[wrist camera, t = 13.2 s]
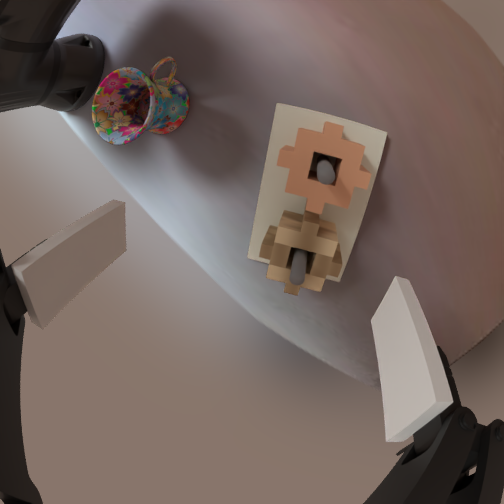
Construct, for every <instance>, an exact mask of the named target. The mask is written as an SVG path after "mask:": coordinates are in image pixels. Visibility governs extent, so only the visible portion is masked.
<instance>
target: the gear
mask: <svg viewBox="0 0 504 504" xmlns="http://www.w3.org/2000/svg"><path fill="white" fill-rule="evenodd" d="M305 209H306V206H305ZM293 247H295V248H299V249H303V250H307V261H306V272H305V281H304V283H303V284H301V285H294V284H292V283H291V282H290V280H289V278H290V272H291V267H292V262H293V257H294V251H295V248H293ZM308 251H310V252H308ZM259 257H261V258H265V259H268V260H270V263H269V267H268V271H267V275H266V278H268V279H272V280H276V281H280V282H284V283H286V284H285V288H284V292H285V293H289V294H293V295H297V296H298V293H299V290H300V287H303V288H307V289H311V290H315V291H318V292H321V289H322V287H323V284H324V281H325V279H326V276H327V275H330V276H334V277H337V278H338V276H339V273H340V271H341V268H342V265H343V264H342V257H341V250H340V244H339V243H338V237H337V231H336V225H335V223H332V222H329V221H325V220H321V219H319V214H318V213H314V212H310V211H306V210H304V214H303V215H302V214H298V213H295V212H291V211H287V210H284V211H283V214H282V217H281V219H280V222H279V225H278V227H276V226H272V225H270V226H269V228H268V230H267V233H266V235H265V237H264V239H263V241H262V244H261V248H260V253H259Z"/></svg>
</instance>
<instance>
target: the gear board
mask: <svg viewBox="0 0 504 504" xmlns="http://www.w3.org/2000/svg"><path fill="white" fill-rule="evenodd" d="M386 136H387V132H384V131H381V130H378V129H376V128H373V127H370V126H367V125H363V124H360V123H357V122H354V121H351V120H347V119H344V118H340V117H337V116H333V115H329V114H325V113H321V112H317V111H313V110H309V109H305V108H300V107H296V106H291V105H286V104H281V103H277V104H276V109H275V115H274V120H273V125H272V130H271V135H270V140H269V146H268V151H267V156H266V161H265V166H264V172H263V177H262V182H261V187H260V192H259V198H258V203H257V208H256V213H255V219H254V224H253V229H252V235H251V240H250V245H249V250H248V256H247V258H249V259H253V260H257V261H260V262H264V263H268V264H269V263H270V260H268V259H265V258H261V257H259V253H260V248H261V244H262V241H263V239H264V237H265V235H266V233H267V230H268V228H269V226H270V225H272V226H276V227H278V225H279V222H280V219H281V217H282V214H283V211H284V210H287V211H291V212H295V213H298V214H302V215H303V214H304V210H306V211H310V212H314V213H318V214H319V219H321V220H325V221H329V222H332V223H335V225H336V231H337V237H338V243H339V244H340V250H341V257H342V264H343V265H342V268H341V271H340V273H339V276H338V278H337V277H334V276H330V275H327V276H326V279H329V280H333V281H337V282H340V279H341V277H342V274H343V272H344V269H345V267H346V264H347V261H348V259H349V256H350V253H351V251H352V248H353V245H354V242H355V240H356V237H357V234H358V231H359V228H360V225H361V222H362V219H363V216H364V213H365V210H366V207H367V204H368V201H369V198H370V195H371V191H372V188H373V185H374V181H375V178H376V174H377V171H378V167H379V163H380V160H381V156H382V152H383V148H384V144H385V140H386ZM305 206H306V209H305ZM293 248H295V247H293ZM308 252H310V251H308ZM306 261H307V250H303V249H299V248H295V251H294V257H293V262H292V267H291V272H290V278H289V280H290V282H291V283H292V284H294V285H301V284H303V283H304V281H305V272H306Z"/></svg>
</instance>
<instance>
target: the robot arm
mask: <svg viewBox="0 0 504 504" xmlns="http://www.w3.org/2000/svg"><path fill="white" fill-rule="evenodd" d="M80 1H81V0H0V112H5V111H9V110H14V109H19V108H24V107H30V106H36V105H41V106H44V107H47V108H50V109H54V110H57V111H71V110H75V109H78V108H79V107H81V106H82V105H84V104H85V103H86V102H87V101H88V100H89V98H90V97H91V96H92V94H93V93H94V91H95V89H96V87H97V85H98V83H99V81H100V78H101V75H102V71H103V66H104V50H103V46H102V43H101V42H100V40H99V39H98V38H97V37H95V36H93V35H88V34H75V35H71V36H67V37H63V38H59V39H55V38H56V36H57V35H58V33H59V31H60V30H61V28H62V27H63V25H64V23H65V22H66V20H67V19H68V17H69V16H70V15H71V13H72V12H73V10H74V9H75V7H76V6H77V5H78V3H79V2H80ZM125 251H126V230H125V202H121V201H117V200H112V201H110V202H108V203H106V204H105V205H103V206H101V207H99V208H97V209H96V210H94V211H92V212H90V213H89V214H87V215H85V216H84V217H82V218H80V219H79V220H77V221H75V222H74V223H72V224H70V225H69V226H67V227H66V228H64V229H62V230H61V231H59V232H58V233H56V234H55V235H53V236H52V237H50V238H49V239H46V240H44V241H43V242H41V243H40V244H38V245H37V246H36V247H34V248H32V249H31V250H30V252H29V251H28V252H27V253H25V254H24V255H22V256H21V257H20V258H18V259H17V260H16V261H14V262H13V263H12V264H10V265H9V266H8V267H5V263H4V260H3V257H2V253H1V249H0V499H1V500H2V501H3V502H4V504H43V502H42V499H41V496H40V494H39V491H38V490H37V488H36V486H35V485H34V484H33V482H32V481H31V479H30V477H29V475H28V470H27V465H26V459H25V453H24V445H23V436H22V426H21V410H20V371H21V354H22V344H23V335H24V327H25V318H24V314H25V313H26V312H28V314H29V316H30V319H31V321H32V322H33V323H34V324H36V325H37V326H38V327H40V328H41V329H44V328H45V327H46V326H47V325H48V324H49V323H50V322H51V320H52V319H53V318H54V317H55V316H56V315H57V314H58V313H59V312H60V311H61V310H62V309H63V308H64V307H65V306H66V305H67V304H68V303H69V302H70V301H71V300H72V299H73V298H75V297H76V296H77V295H78V294H79V293H80V292H81V291H82V290H83V289H84V288H85V287H86V286H87V285H88V284H89V283H90V282H91V281H93V280H94V279H95V278H96V277H97V276H98V275H99V274H100V273H101V272H102V271H104V270H105V269H106V268H107V267H108V266H109V265H110V264H111V263H113V262H114V261H115V260H116V259H117V258H118V257H119V256H121V255H122V254H123V253H124V252H125ZM371 324H372V330H373V335H374V341H375V347H376V353H377V359H378V366H379V373H380V381H381V389H382V397H383V408H384V419H385V431H386V442H403V441H405V440H406V439H407V438H409V437H410V436H411V435H413V437H414V442H413V443H411V444H410V445H408V446H406V447H405V448H403V449H402V450H400V451H399V452H398V453H397V454H396V455H397V456H398V455H400V454H401V453H403V452H404V453H403V455H402V456H401V458H400V459H399V461H398V462H397V463H396V465H395V466H394V467H393V469H392V470H391V471H390V473H389V474H388V475H387V476H386V478H385V479H384V480H383V481H382V483H381V484H380V485H379V486H378V487H377V489H376V490H375V491H374V492H373V493H372V494H371V496H370V497H369V498H368V499H367V500H366V501H365V502H364V503H363V504H500V503H501V498H502V493H503V488H504V422H503V421H502V420H500V419H496V420H494V421H493V422H492V423H490V424H489V425H488V426H484V425H481V424H478V423H477V419H476V417H475V415H474V413H473V412H472V411H471V410H470V409H469V408H467V407H462V406H461V402H460V399H459V395H458V391H457V388H456V385H455V381H454V378H453V377H452V372H451V369H450V368H449V367H450V366H449V363H448V360H447V357H446V355H445V354H444V352H443V351H442V349H441V348H440V346H436V344H435V341H434V339H433V336H432V333H431V331H430V328H429V326H428V323H427V320H426V318H425V316H424V313H423V311H422V308H421V306H420V304H419V301H418V299H417V297H416V295H415V292H414V290H413V288H412V286H411V284H410V282H409V280H408V279H404V278H401V277H398V276H395V277H394V279H393V281H392V283H391V285H390V287H389V289H388V291H387V293H386V294H385V296H384V298H383V300H382V302H381V303H380V305H379V307H378V309H377V310H376V312H375V314H374V316H373V317H372V319H371ZM475 466H477V467H476V472H475V473H474V474H472V475H470V476H469V470H470V469H472V468H474V467H475Z"/></svg>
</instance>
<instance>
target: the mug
mask: <svg viewBox="0 0 504 504" xmlns="http://www.w3.org/2000/svg"><path fill="white" fill-rule="evenodd" d="M168 61H171V63H172V68H171V72H170V75H169V78H160V79H157V80H155V79H154V77H155V74H156V72H157V70H158V69H159V68H160V67H161V66H162V65H163V64H165V63H166V62H168ZM176 69H177V64H176V61H175V60H174V59H173V58H172V57H165V58H163V59H161V60H160V61H158V62H157V63H156V64H155V65H154V66H153V68H152V70H151V72H150V76H149V77H150V79H149V78H148V77H147V75H146V74H145V73H144V72H142V71H141V70H139V69H137V68H133V67H123V68H120V69H117V70H115V71H113V72H111V73H110V74H109V75H108V76H107V77H106V78H105V79H104V80H103V81H102V82H101V84H100V85H99V87H98V89H97V91H96V93H95V96H94V99H93V104H92V119H93V123H94V126H95V129H96V131H97V132H98V134H99V135H100V137H101V138H102V139H104V140H105V141H106V142H108V143H111V144H114V145H123V144H127V143H130V142H132V141H133V140H135V139H136V138H138V137H139V136H140V135H141V134H142V133H143V131H145V130H149V131H150V132H152V133H156V134H166V133H169V132H172V131H173V130H175V129H176V128H178V127H179V126H180V125H181V124H182V122H183V121H184V120H185V118H186V116H187V113H188V110H189V95H188V92H187V90H186V88H185V87H184V85H183V84H182V83H180V82H179V81H178V80H176V79H174V76H175V73H176Z"/></svg>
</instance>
